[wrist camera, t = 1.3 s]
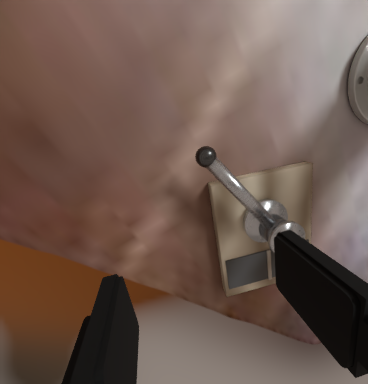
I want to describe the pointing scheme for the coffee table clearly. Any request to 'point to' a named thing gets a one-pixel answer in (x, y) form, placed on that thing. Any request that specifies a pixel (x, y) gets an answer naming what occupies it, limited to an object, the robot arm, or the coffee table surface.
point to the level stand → (234, 232)
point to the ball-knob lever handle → (250, 203)
